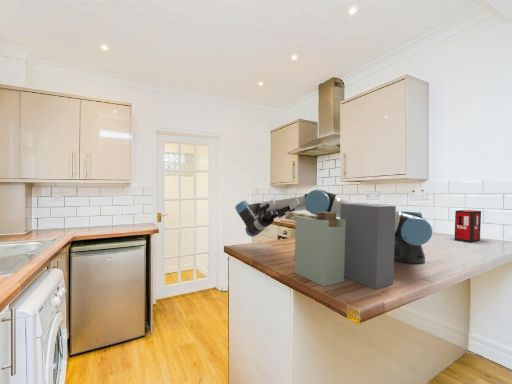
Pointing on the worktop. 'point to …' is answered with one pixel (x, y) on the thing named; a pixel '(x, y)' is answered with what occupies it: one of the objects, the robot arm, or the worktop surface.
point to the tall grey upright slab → (369, 243)
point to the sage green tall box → (320, 250)
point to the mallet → (314, 217)
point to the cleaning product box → (467, 225)
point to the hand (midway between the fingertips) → (286, 201)
